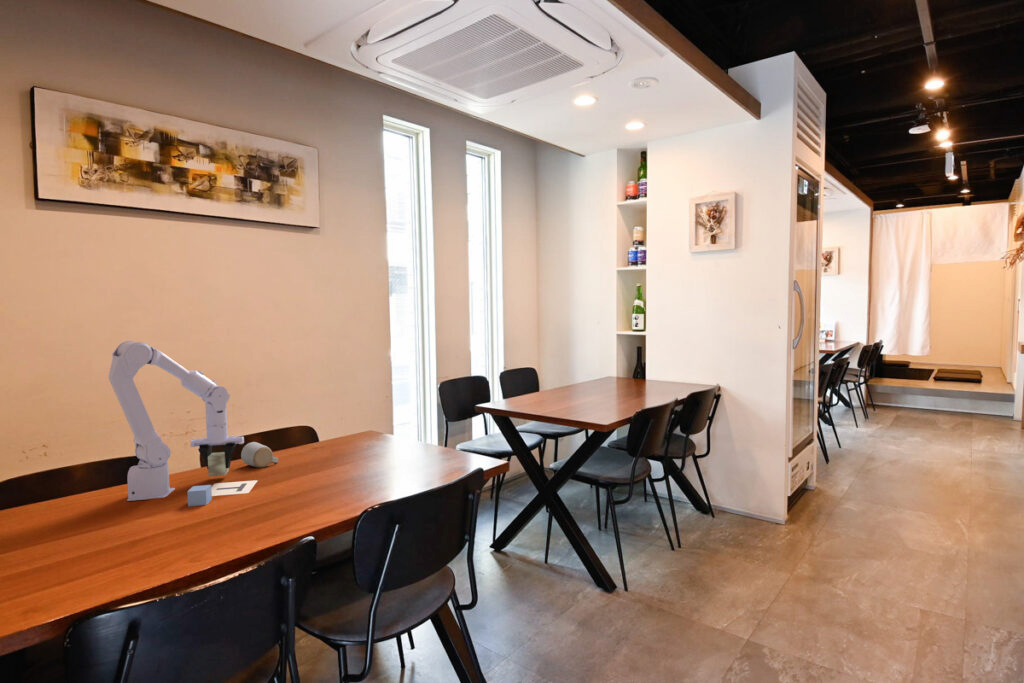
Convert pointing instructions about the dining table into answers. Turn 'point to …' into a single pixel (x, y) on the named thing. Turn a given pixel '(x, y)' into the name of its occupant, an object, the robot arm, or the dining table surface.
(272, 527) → the dining table surface
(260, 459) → the ceramic mug
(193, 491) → the blue cube
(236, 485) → the letter card
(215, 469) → the green block
